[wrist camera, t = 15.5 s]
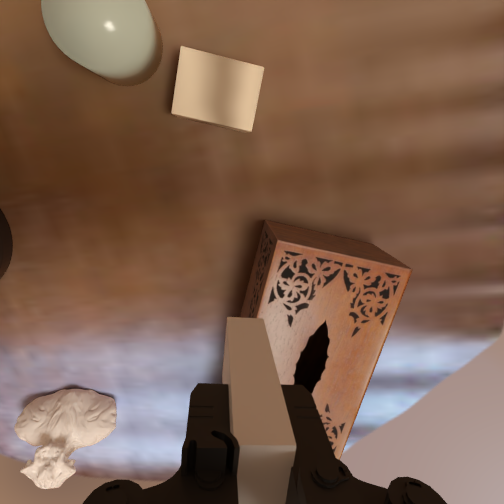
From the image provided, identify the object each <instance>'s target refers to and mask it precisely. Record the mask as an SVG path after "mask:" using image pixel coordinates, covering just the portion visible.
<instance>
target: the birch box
mask: <svg viewBox="0 0 504 504" xmlns="http://www.w3.org/2000/svg"><path fill="white" fill-rule="evenodd" d="M263 72H264V67H261V66H257V65H253V64H249V63H245V62H242V61H238V60H234V59H230V58H226V57H222V56H218V55H214V54H211V53H207V52H203V51H199V50H195V49H191V48H187V47H183V46H181V49H180V56H179V63H178V70H177V77H176V84H175V91H174V98H173V105H172V112H171V113H172V114H173V115H174V116H176V117H179V118H183V119H188V120H192V121H196V122H201V123H205V124H209V125H214V126H218V127H223V128H227V129H231V130H236V131H240V132H245V133H249V132H251V131H252V126H253V121H254V116H255V111H256V107H257V102H258V97H259V92H260V87H261V82H262V77H263Z"/></svg>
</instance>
